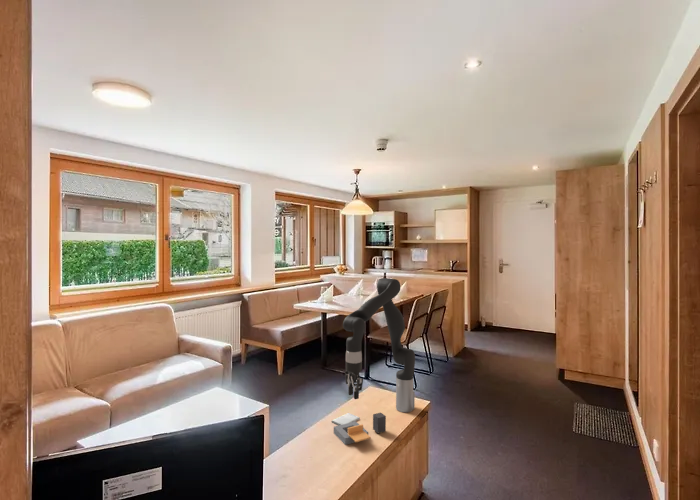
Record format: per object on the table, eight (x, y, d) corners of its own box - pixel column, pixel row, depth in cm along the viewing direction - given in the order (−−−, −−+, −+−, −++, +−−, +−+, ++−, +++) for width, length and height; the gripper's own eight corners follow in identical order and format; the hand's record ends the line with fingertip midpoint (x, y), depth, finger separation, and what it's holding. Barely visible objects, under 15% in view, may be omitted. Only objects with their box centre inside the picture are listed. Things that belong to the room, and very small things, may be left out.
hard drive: (343, 425, 181) (359, 417, 190) (331, 420, 186) (348, 412, 196) (343, 428, 181) (359, 420, 190) (331, 423, 186) (348, 415, 196)
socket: (355, 427, 181) (355, 421, 181) (368, 438, 171) (368, 432, 171) (333, 433, 176) (333, 426, 176) (345, 444, 165) (345, 438, 165)
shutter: (362, 430, 171) (362, 424, 171) (370, 438, 164) (370, 431, 164) (347, 434, 168) (347, 427, 168) (355, 442, 161) (355, 435, 161)
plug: (380, 428, 180) (380, 412, 180) (385, 432, 176) (385, 416, 176) (372, 430, 178) (373, 414, 178) (377, 434, 174) (377, 418, 174)
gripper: (368, 363, 166) (368, 400, 166) (353, 355, 179) (353, 390, 179) (354, 365, 163) (353, 404, 163) (339, 357, 175) (339, 392, 175)
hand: (353, 396), depth 171 cm, fingers open, 4 cm apart
